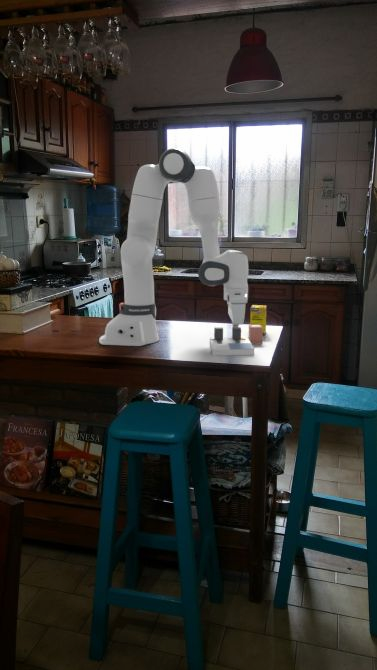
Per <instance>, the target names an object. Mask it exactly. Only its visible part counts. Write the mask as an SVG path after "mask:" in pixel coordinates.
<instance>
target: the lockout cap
mask: <svg viewBox="0 0 377 670" xmlns="http://www.w3.org/2000/svg"><path fill="white" fill-rule="evenodd" d="M263 336H264V335H263V327H262V326H261V325H250V324H248V339H249V341H250V342H251V344H263Z"/></svg>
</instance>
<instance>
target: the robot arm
mask: <svg viewBox="0 0 377 670" xmlns="http://www.w3.org/2000/svg"><path fill="white" fill-rule="evenodd" d="M177 183H179V184H180V183H181V184H183V185H184V187H185V189H186V194H187V201H188V202H187V204H188V209H189V212H190V215H191V216H190V217H191V220H192V221H193V223H194V224H195V226H196V227H197V229H198V231H199V234H200V239H201V246H202V252H203V253H202V254H203V259H202V263H201V265H200V266H199V267H198V270H197V271H198V272H197V274H198V275H197V276H198V279H199V281H200V282H201V283H202V284H203V285H205V286H208V287H216V286H221V285H223V300H224V301H226V303H227V307H228V308H227V310H228V311H227V314H228V316H229V318H230V320H231V326H232V327H239V326H240V325H243V324H244V321H245V315H246V304H248V300H249V284H248V278H249V260H248V256H247V254H246V253H245V252H244V251H241V250H236V249H227V250H226V251H224V252H222V253H221V249H220V242H219V234H218V231H219V230H218V228H219V223H220V222H219V221H220V213H221V212H220V211H221V209H220V207H221V206H220V205H221V204H220V195H219V188H218V182H217V179H216V176H215V173H214V171H213V170H212V168H210V167H207V166H196V165H195V163H194V162H193V160H192V159H191V157H190V155H189V154H188V153H187V152H186V151H185V150H182V149H181V148H177V147H173V148H172V147H171V148H169V149H167V150H165V151H164V152H163V153H162V154H161V156H160V157H159V161H158V164H144V165H142V166H140V167H139V169H138V171H137V172H136V175H135V179H134V183H133V186H132V191H131V197H130V203H129V209H128V219H127V221H128V222H127V233H126V234H127V235H126V239H125V240H124V241H123V242H122V244H121V247H120V264H121V269H122V271H121V272H122V277H123V290H124V292H123V293H124V302H120V303H119V304H118V307H119V309H118V310H119V311H118V312H119V313H118V314H117V315H116V316H115V317H113V318H112V319H111V320H110V321H109V322H108V323H106V326H105V331H104V334H103V335H101V336H100V337H99V338H98V339H99V340H98V343H99V344H100V345H106V346H109V345H110V346H128V347H132V346H133V347H142V346H145V345H149V344H154V343H157V342H158V341H160V336H159V333H158V329H157V322H156V317H157V307H156V302H155V281H154V280H155V279H154V273H153V272H154V270H153V258H154V257H155V256H154V255H155V251H156V245H157V238H158V230H159V223H160V221H159V220H160V217H161V209H162V206H163V205H162V204H163V198H164V192H165V189H166V187H167V185H168V184H177Z"/></svg>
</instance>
